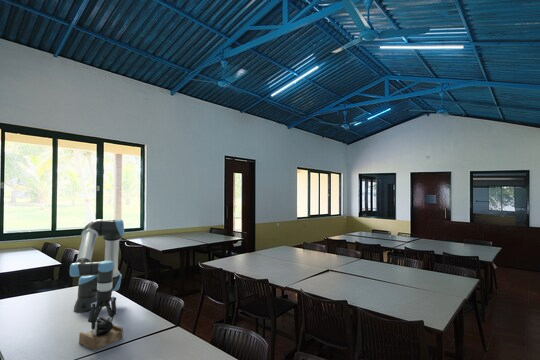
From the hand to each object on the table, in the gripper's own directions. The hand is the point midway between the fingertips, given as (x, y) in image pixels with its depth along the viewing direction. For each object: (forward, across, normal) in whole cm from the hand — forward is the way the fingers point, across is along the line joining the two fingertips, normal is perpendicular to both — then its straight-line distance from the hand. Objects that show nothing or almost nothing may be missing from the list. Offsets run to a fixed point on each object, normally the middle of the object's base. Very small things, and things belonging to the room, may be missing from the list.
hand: (101, 331), depth 166 cm
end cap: (+1, 0, 0) cm, 1 cm away
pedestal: (+5, 0, 0) cm, 5 cm away
